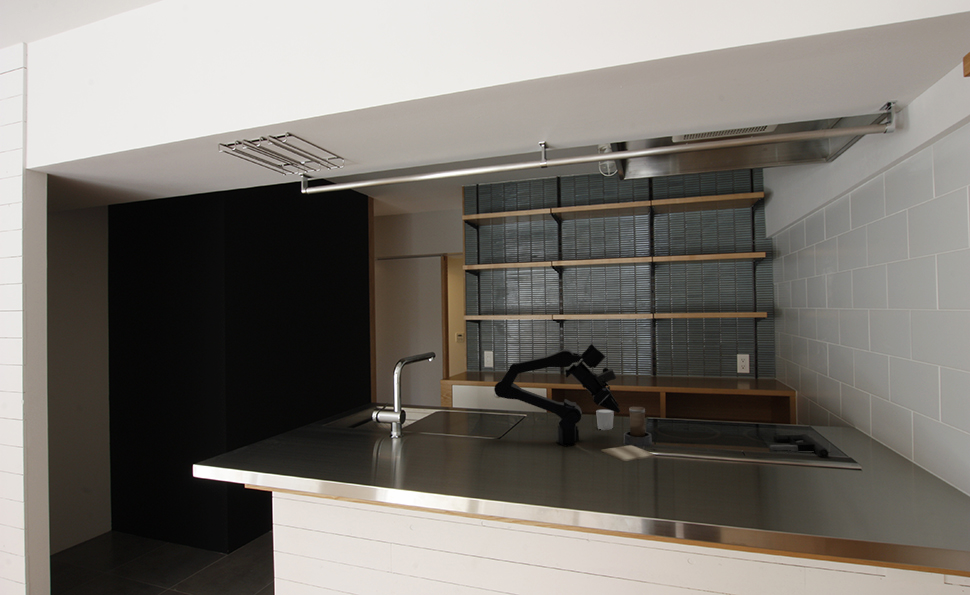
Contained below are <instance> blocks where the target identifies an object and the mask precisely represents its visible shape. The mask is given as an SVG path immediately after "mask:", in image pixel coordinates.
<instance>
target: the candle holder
mask: <svg viewBox="0 0 970 595" xmlns="http://www.w3.org/2000/svg"><path fill="white" fill-rule="evenodd" d="M652 440H653V438H652V433H651V432H648V431H645V437H634V436H630V430H629V431H625V432H624V433H623V441H622V443H623V444H624V445H625V446H629V445H632V446H635V447H637V448H643V447H645V448H646V447H650V446H653V445H654V443H653V441H652Z"/></svg>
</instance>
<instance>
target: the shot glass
mask: <svg viewBox="0 0 970 595" xmlns="http://www.w3.org/2000/svg"><path fill="white" fill-rule="evenodd" d="M595 412H596V413H595V414H596V421H597V424H596V425H597V429H598V430H599V429H601V430H600V431H608V430H613V429H612V428H614V417H615V416H614V415H615V413H614V412H615V411H612V410H610V409H607V408H604V409H597V410H596V411H595Z"/></svg>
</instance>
